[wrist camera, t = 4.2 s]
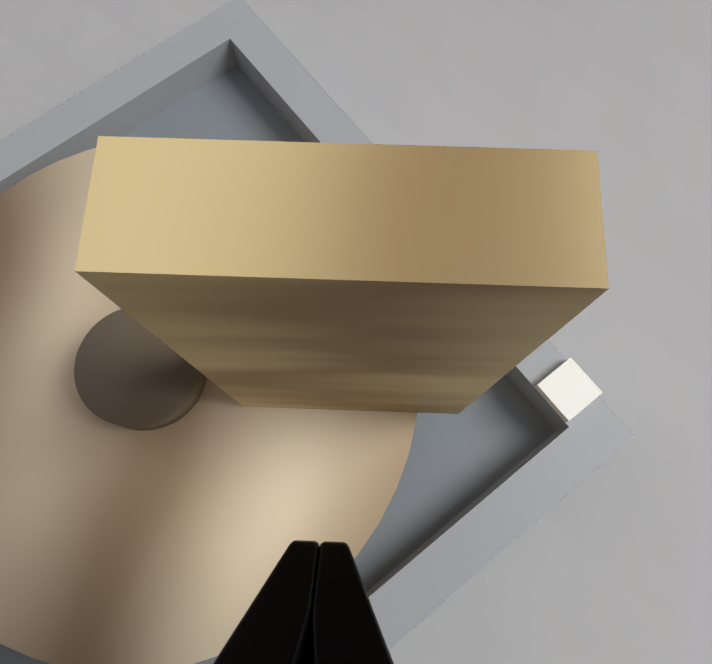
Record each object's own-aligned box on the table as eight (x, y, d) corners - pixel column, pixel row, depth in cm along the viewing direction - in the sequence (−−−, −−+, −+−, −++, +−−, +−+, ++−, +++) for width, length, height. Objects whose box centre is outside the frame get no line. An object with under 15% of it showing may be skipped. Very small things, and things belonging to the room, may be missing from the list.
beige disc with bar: (-138, 644, 15) (-1283, 983, 5) (-24, 159, 19) (-508, -270, 8) (450, 668, 15) (675, 1075, 4) (447, 174, 19) (564, -246, 8)
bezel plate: (603, 441, 17) (639, 433, 15) (72, 902, 14) (21, 975, 12) (249, 41, 21) (237, -12, 19) (-227, 340, 18) (-307, 318, 16)
